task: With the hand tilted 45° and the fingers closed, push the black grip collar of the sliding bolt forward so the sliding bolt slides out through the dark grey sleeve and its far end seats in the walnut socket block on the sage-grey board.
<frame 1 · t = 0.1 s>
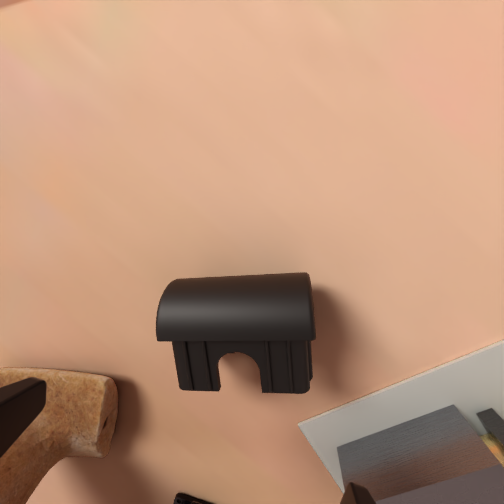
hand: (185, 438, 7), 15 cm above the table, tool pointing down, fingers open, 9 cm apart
board: (503, 420, 20), on the table
sleeve: (410, 455, 22), resting on board
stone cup: (68, 405, 28), on the table
end cap: (250, 303, 22), on the table
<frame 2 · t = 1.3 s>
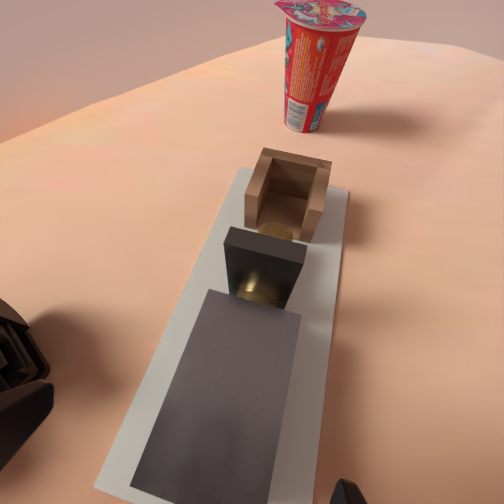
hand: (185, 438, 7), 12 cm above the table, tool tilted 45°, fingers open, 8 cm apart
board: (259, 294, 22), on the table
sleeve: (232, 391, 18), resting on board
cup: (298, 123, 36), on the table
sliding bolt: (250, 313, 16), point 5 cm above the table, slide at 0.0 cm
socket: (282, 212, 27), resting on board
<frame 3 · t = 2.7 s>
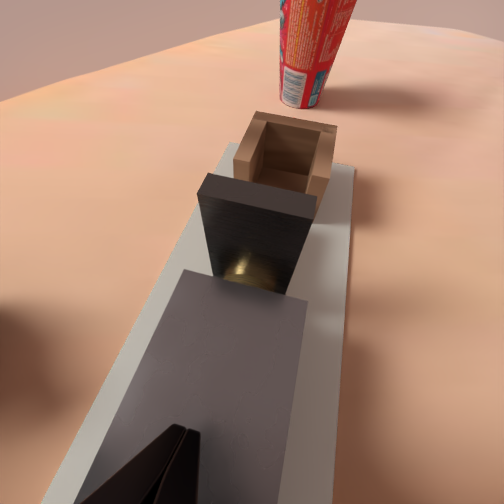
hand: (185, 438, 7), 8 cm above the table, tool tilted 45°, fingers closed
board: (253, 283, 18), on the table
sleeve: (217, 405, 14), resting on board
cup: (295, 99, 33), on the table
sliding bolt: (239, 300, 12), point 5 cm above the table, slide at 0.0 cm
socket: (279, 190, 23), resting on board
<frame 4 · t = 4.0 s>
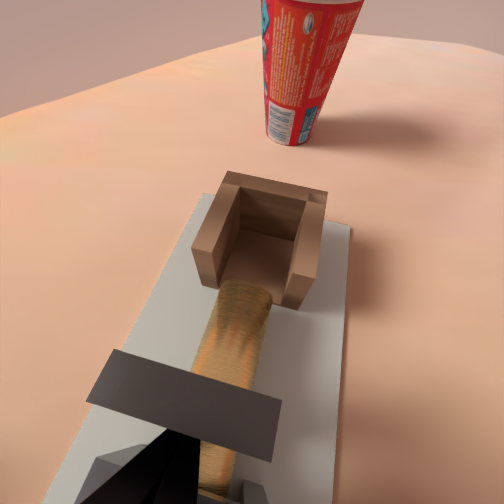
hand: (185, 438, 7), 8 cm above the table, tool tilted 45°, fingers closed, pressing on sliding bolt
board: (218, 404, 14), on the table
cup: (283, 133, 29), on the table
sliding bolt: (180, 491, 8), point 5 cm above the table, slide at 0.8 cm, touching gripper
socket: (259, 261, 19), resting on board
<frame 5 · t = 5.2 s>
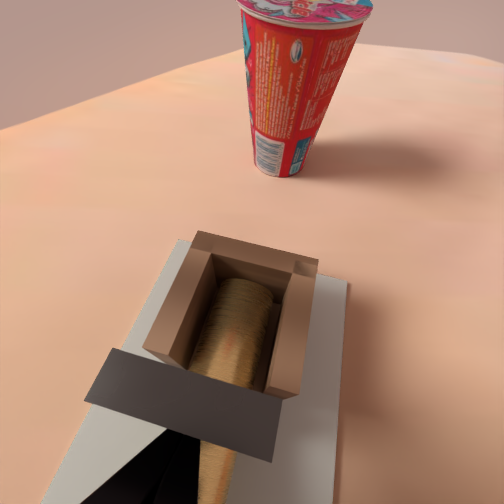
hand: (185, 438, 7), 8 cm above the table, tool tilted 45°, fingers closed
cup: (274, 161, 26), on the table
sliding bolt: (179, 491, 8), point 5 cm above the table, slide at 6.2 cm
socket: (239, 330, 16), resting on board
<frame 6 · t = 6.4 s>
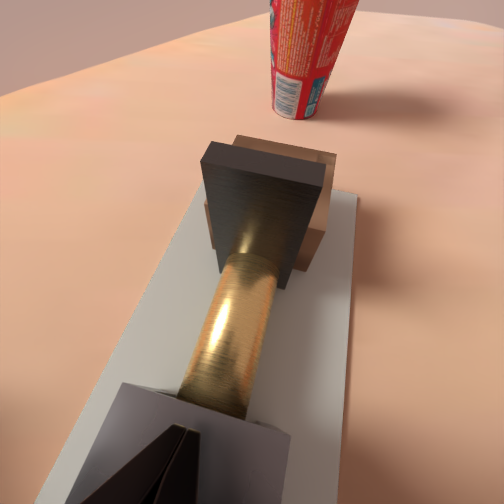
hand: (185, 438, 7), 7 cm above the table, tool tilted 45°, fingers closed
board: (230, 356, 15), on the table
cup: (290, 108, 29), on the table
sliding bolt: (244, 277, 12), point 5 cm above the table, slide at 6.2 cm
socket: (268, 226, 19), resting on board
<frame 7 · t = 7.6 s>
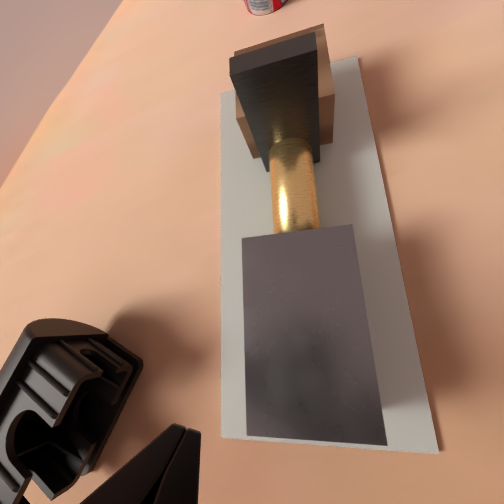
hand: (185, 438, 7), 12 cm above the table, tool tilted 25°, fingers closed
board: (298, 222, 20), on the table
sleeve: (307, 324, 18), resting on board
cup: (264, 1, 28), on the table
sliding bolt: (286, 152, 16), point 5 cm above the table, slide at 6.2 cm
socket: (288, 122, 23), resting on board
end cap: (92, 391, 21), on the table
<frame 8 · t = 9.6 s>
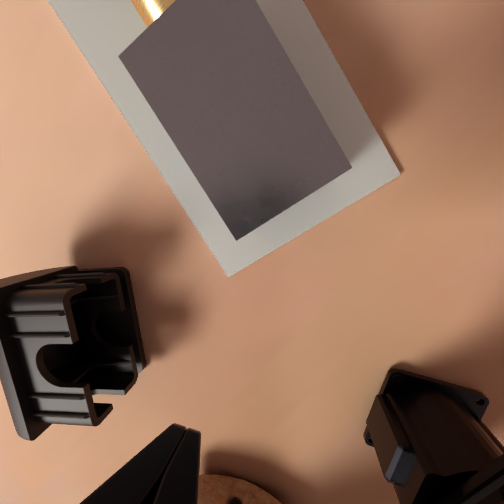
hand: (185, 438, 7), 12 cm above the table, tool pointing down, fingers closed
board: (183, 28, 16), on the table
sleeve: (249, 136, 16), resting on board
end cap: (102, 319, 22), on the table
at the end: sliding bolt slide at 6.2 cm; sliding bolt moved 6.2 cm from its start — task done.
